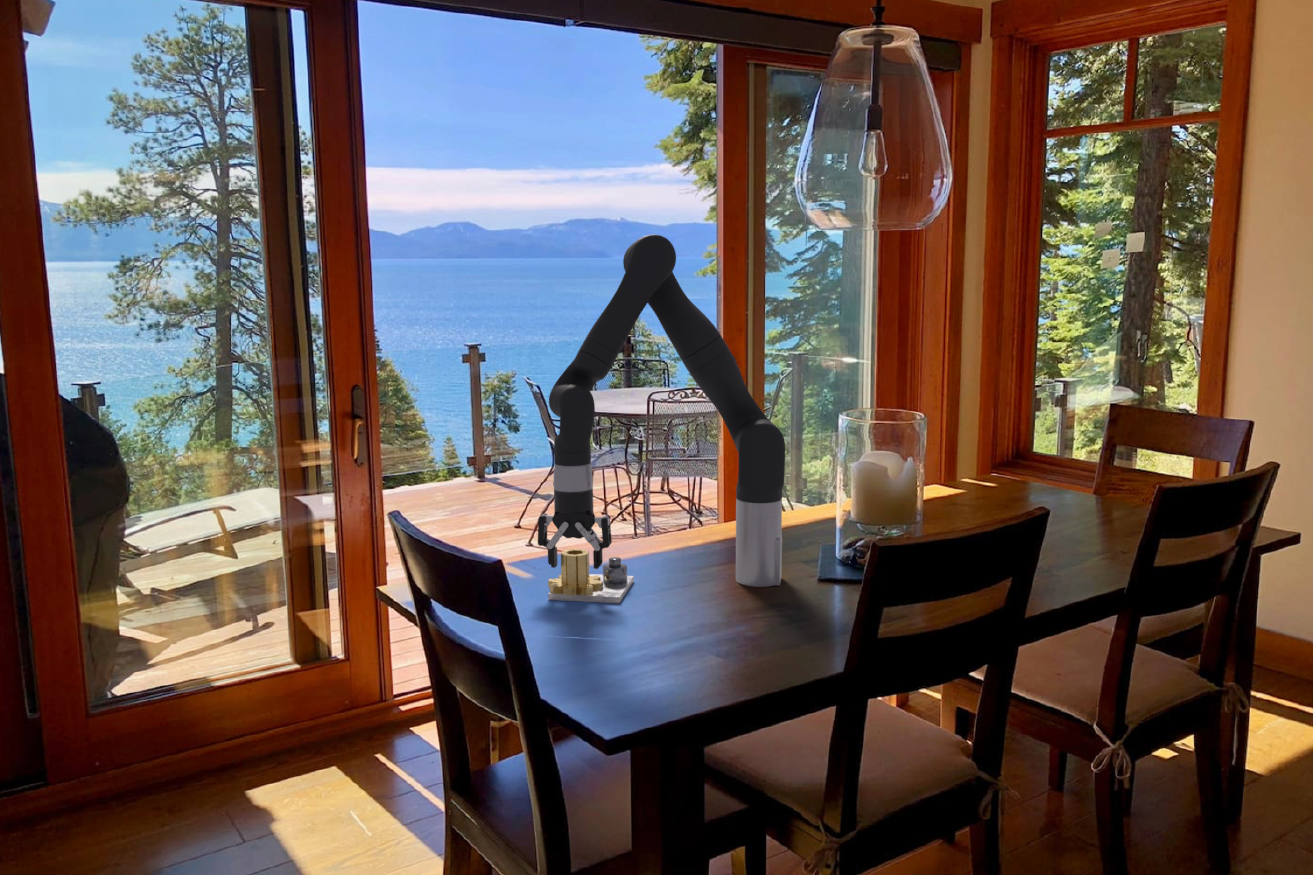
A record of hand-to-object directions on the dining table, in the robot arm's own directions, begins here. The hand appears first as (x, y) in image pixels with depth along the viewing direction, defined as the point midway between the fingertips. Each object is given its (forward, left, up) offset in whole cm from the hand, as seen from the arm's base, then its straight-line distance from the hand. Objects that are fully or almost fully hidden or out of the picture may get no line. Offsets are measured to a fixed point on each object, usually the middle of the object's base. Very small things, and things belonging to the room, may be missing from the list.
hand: (575, 567), depth 189 cm
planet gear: (0, 0, -4) cm, 4 cm away
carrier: (-3, -2, -5) cm, 6 cm away
